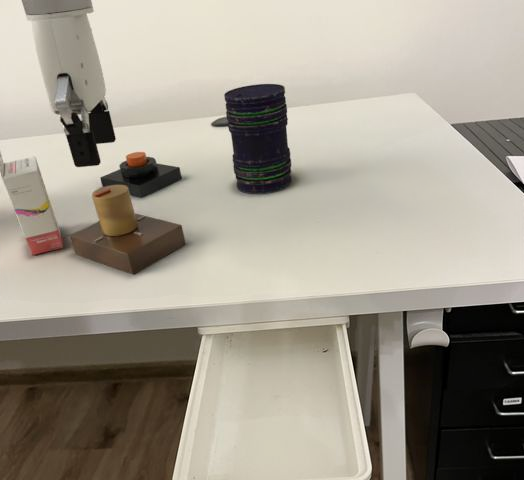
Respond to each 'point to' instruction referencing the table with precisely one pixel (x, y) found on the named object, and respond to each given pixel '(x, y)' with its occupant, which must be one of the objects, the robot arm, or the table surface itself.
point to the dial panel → (129, 244)
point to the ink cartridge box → (31, 204)
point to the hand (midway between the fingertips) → (96, 153)
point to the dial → (115, 210)
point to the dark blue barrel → (259, 137)
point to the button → (136, 159)
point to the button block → (143, 177)
